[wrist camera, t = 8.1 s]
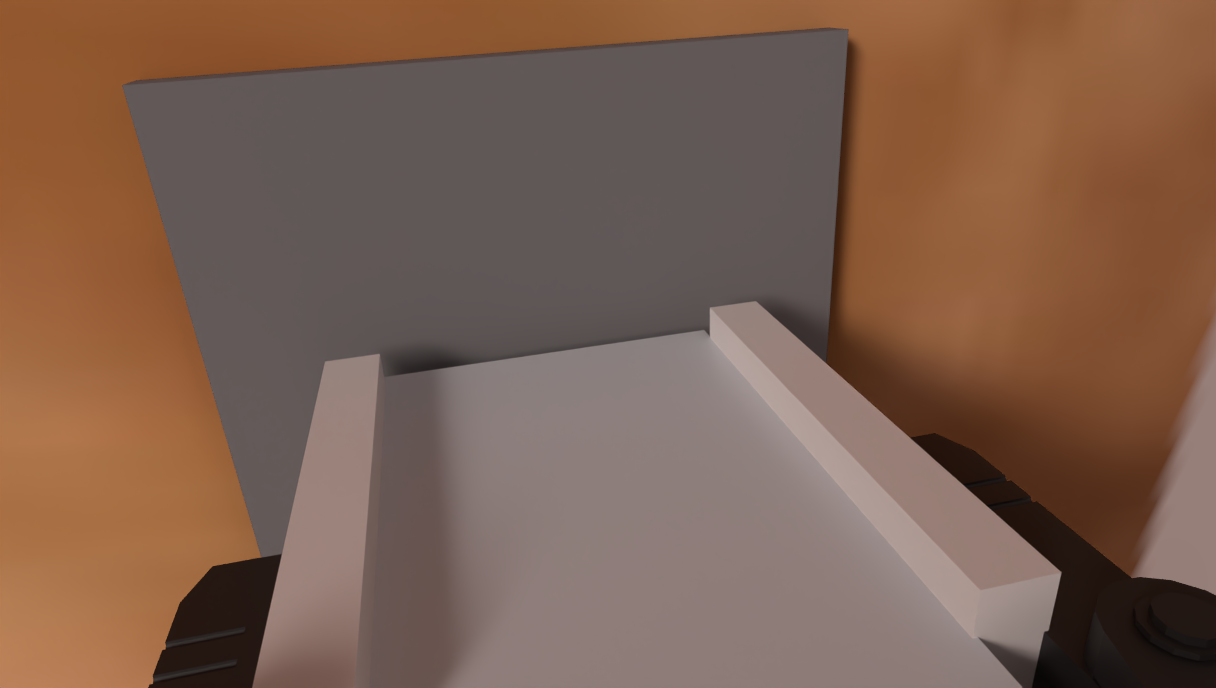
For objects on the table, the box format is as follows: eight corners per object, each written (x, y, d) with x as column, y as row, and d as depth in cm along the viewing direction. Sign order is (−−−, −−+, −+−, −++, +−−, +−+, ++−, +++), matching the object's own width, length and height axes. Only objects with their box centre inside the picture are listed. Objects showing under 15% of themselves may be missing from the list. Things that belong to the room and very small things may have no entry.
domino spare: (382, 377, 12) (319, 1553, 3) (704, 330, 13) (1402, 1113, 4) (400, 469, 12) (395, 1657, 4) (704, 417, 13) (1302, 1260, 4)
